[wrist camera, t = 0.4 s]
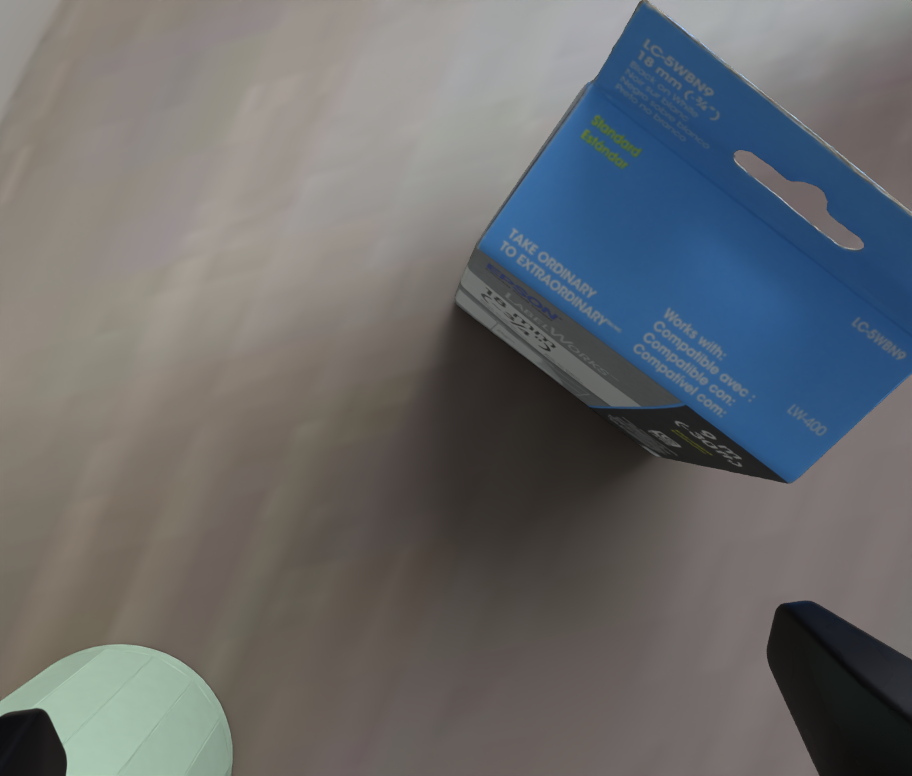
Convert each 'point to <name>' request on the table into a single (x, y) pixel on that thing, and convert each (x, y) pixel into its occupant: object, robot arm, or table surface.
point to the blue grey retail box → (697, 266)
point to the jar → (130, 714)
